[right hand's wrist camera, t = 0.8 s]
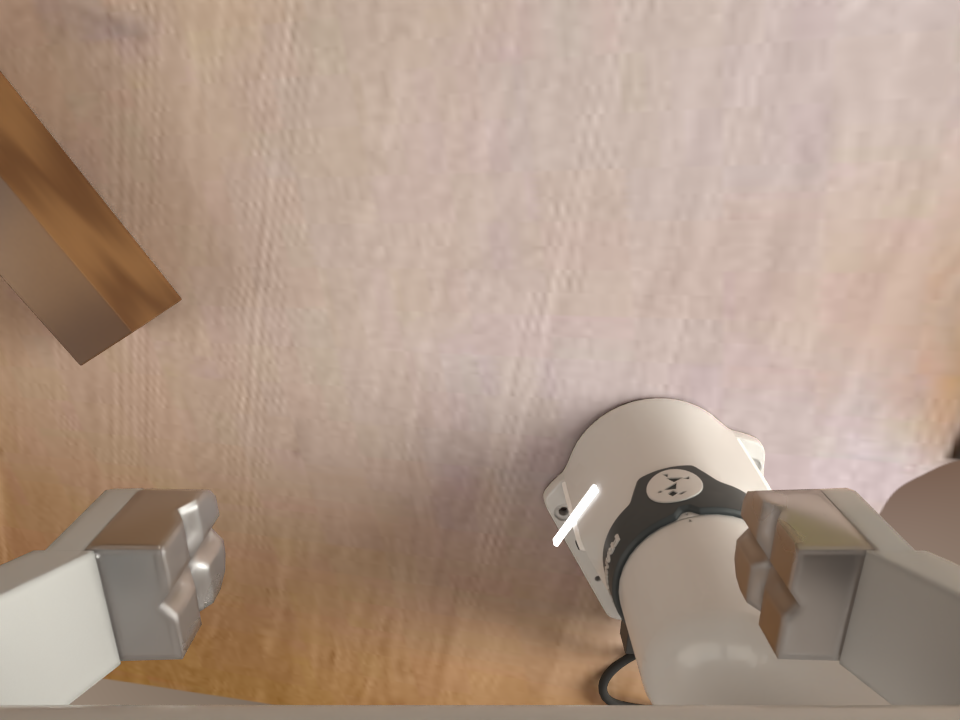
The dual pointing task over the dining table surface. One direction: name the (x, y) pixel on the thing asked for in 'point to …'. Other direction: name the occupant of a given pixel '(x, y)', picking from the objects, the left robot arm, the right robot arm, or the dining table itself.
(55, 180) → the bar
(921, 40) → the dining table surface
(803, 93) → the dining table surface
